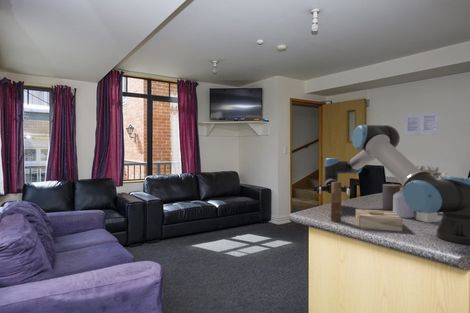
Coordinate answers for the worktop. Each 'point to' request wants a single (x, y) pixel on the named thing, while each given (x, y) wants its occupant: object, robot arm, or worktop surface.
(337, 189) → the peg
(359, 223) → the socket block
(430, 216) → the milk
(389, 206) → the pillar candle
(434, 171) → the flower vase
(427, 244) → the worktop surface
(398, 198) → the soap bottle
